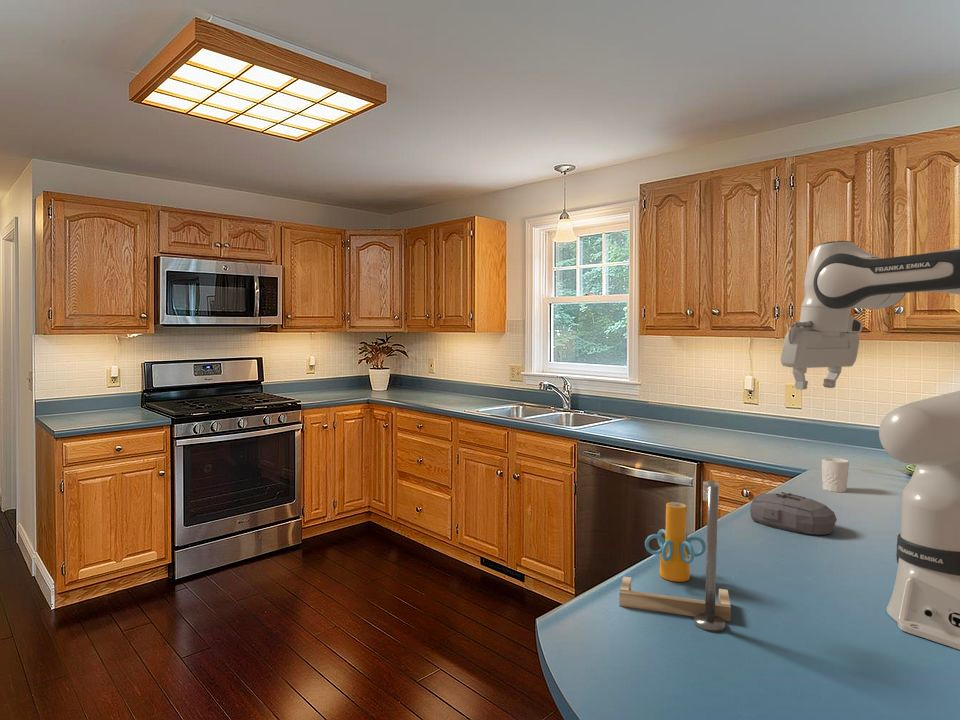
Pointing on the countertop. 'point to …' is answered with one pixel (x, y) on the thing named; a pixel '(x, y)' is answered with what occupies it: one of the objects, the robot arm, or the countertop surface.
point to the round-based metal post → (710, 561)
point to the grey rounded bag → (793, 513)
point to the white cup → (834, 474)
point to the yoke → (671, 602)
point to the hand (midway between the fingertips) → (815, 388)
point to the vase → (675, 545)
